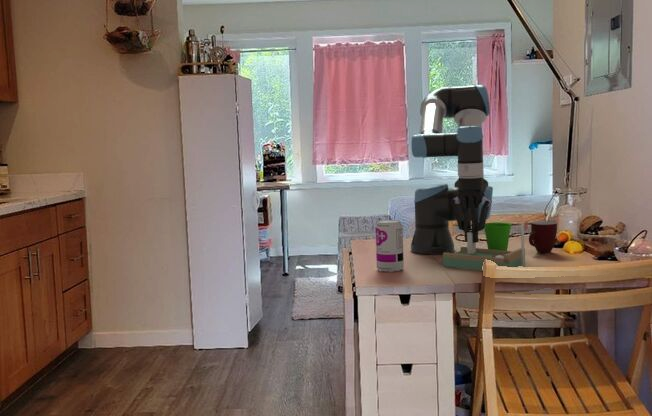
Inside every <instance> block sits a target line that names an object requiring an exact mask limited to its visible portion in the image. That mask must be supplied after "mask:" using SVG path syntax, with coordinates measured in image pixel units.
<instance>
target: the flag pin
mask: <svg viewBox="0 0 652 416" xmlns="http://www.w3.org/2000/svg"><path fill="white" fill-rule="evenodd" d="M520 226H521V228H520V229H521V234H520V235H521V236H520V237H521V239H520V240H521V241H520V242H521V245H520V246H521V247H520V248H521V249H522V266H523V267H526V263H525V264H524V249H525V231H526V230H528V221H525V222H521V224H520Z"/></svg>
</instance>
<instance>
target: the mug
mask: <svg viewBox="0 0 652 416" xmlns="http://www.w3.org/2000/svg"><path fill="white" fill-rule="evenodd" d="M557 229H558V222H555V221H549V220H547V221H546V220H544V221H543V220H542V221H532V222H530V232H531V233H530V234H529V235H528V243H529V245H530V246H532V247H534V249H535V250H536V252H537V253H538V254H543V255H544V254H550V253H551V252H552V250H553V248H554V246H555V244H556V238H557V232H558V230H557Z"/></svg>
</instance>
